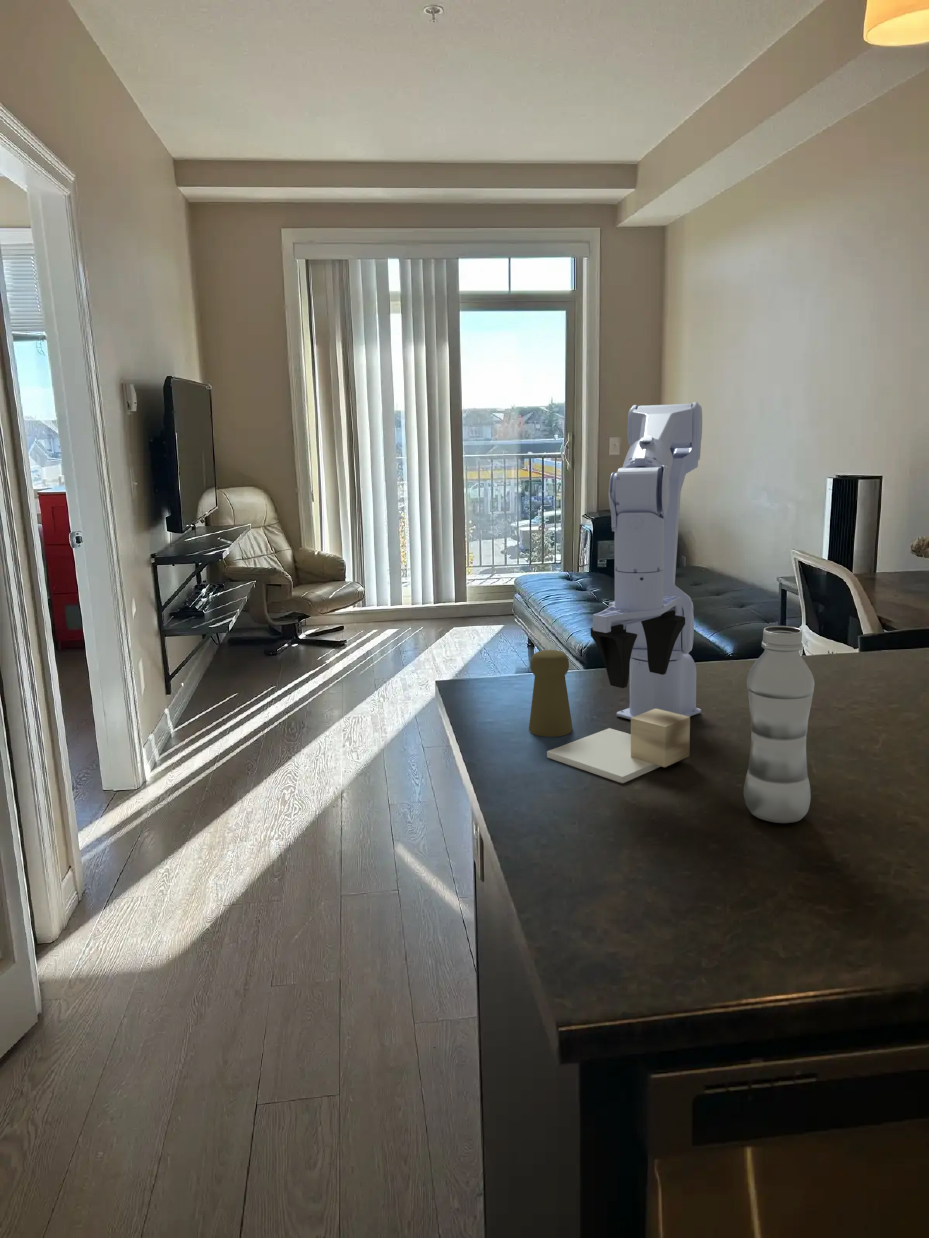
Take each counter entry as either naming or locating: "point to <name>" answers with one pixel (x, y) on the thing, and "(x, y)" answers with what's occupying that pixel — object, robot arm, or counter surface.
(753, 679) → the plastic bottle
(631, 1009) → the counter surface
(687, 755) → the cube
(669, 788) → the counter surface
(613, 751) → the plate
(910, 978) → the counter surface
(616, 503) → the robot arm
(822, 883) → the counter surface
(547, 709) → the cork
